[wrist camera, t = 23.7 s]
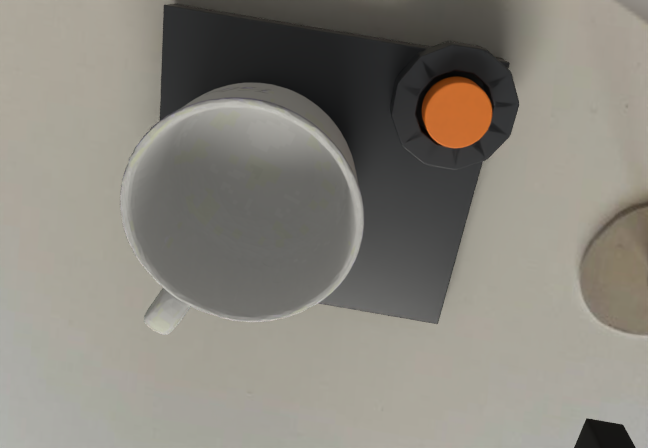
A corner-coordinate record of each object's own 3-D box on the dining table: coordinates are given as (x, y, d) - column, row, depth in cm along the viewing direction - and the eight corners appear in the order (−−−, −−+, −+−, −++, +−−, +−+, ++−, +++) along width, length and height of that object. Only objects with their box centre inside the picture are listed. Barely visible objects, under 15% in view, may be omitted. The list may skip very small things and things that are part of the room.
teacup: (273, 26, 29) (239, 40, 22) (405, 180, 32) (415, 240, 24) (104, 190, 33) (27, 248, 26) (232, 313, 36) (196, 397, 29)
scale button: (493, 81, 28) (500, 88, 26) (476, 144, 29) (482, 153, 27) (429, 71, 28) (432, 76, 26) (415, 133, 29) (417, 142, 27)
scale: (516, 49, 30) (533, 57, 27) (443, 311, 37) (450, 342, 33) (174, -7, 30) (151, -7, 27) (163, 262, 37) (143, 289, 34)
